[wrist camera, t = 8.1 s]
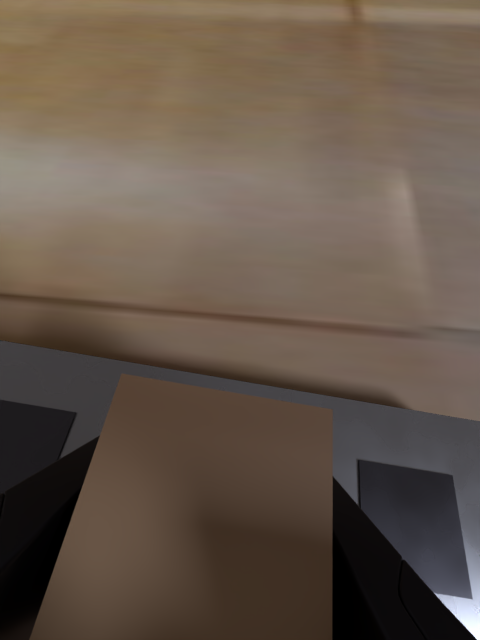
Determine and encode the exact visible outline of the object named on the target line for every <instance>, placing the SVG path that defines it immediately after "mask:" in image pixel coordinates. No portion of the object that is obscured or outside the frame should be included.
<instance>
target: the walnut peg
mask: <svg viewBox="0 0 480 640" xmlns="http://www.w3.org/2000/svg"><path fill="white" fill-rule="evenodd" d="M332 529H333V409H327V408H321V407H315V406H310V405H304V404H298V403H292V402H286V401H280V400H274V399H268V398H263V397H257V396H251V395H245V394H239V393H233V392H227V391H221V390H216V389H210V388H204V387H198V386H192V385H186V384H180V383H174V382H169V381H163V380H157V379H151V378H145V377H139V376H133V375H128V374H122V373H121V376H120V379H119V382H118V385H117V388H116V391H115V394H114V396H113V399H112V402H111V405H110V408H109V411H108V414H107V417H106V420H105V423H104V425H103V428H102V431H101V434H100V437H99V440H98V443H97V446H96V449H95V451H94V454H93V457H92V460H91V463H90V466H89V469H88V472H87V475H86V477H85V480H84V483H83V486H82V489H81V492H80V495H79V498H78V501H77V503H76V506H75V509H74V512H73V515H72V518H71V521H70V524H69V527H68V529H67V532H66V535H65V538H64V541H63V544H62V547H61V550H60V553H59V555H58V558H57V561H56V564H55V567H54V570H53V573H52V576H51V579H50V581H49V584H48V587H47V590H46V593H45V596H44V599H43V602H42V605H41V607H40V610H39V613H38V616H37V619H36V622H35V625H34V628H33V631H32V633H31V636H30V639H29V640H332Z"/></svg>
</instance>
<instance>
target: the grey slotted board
mask: <svg viewBox="0 0 480 640" xmlns="http://www.w3.org/2000/svg"><path fill="white" fill-rule="evenodd" d="M121 373H122V374H128V375H133V376H139V377H145V378H151V379H157V380H163V381H169V382H174V383H180V384H186V385H192V386H198V387H204V388H210V389H216V390H221V391H227V392H233V393H239V394H245V395H251V396H257V397H263V398H268V399H274V400H280V401H286V402H292V403H298V404H304V405H310V406H315V407H321V408H327V409H333V476H334V478H335V479H336V480H337V481H338V482H339V484H340V485H341V486H342V487H343V488H344V489H345V491H346V492H347V493H348V494H349V495H350V496H351V498H352V499H353V500H354V501H355V502H356V503H357V505H358V506H359V507H360V508H361V509H362V510H363V512H364V513H365V514H366V515H367V516H368V517H369V519H370V520H371V521H372V522H373V523H374V524H375V526H376V527H377V528H378V529H379V530H380V531H381V533H382V534H383V535H384V536H385V537H386V538H387V540H388V541H389V542H390V543H391V544H392V545H393V547H394V548H395V549H396V550H397V551H398V552H399V554H400V555H401V556H402V560H406V562H407V563H408V564H409V565H410V566H411V567H412V569H413V570H414V571H415V572H416V573H417V574H418V576H419V577H420V578H421V579H422V580H423V581H424V582H425V583H426V585H427V586H428V587H429V588H430V589H431V590H432V591H433V592H434V594H435V595H436V596H437V597H438V598H439V599H440V600H441V601H442V603H443V604H444V605H445V606H446V607H447V608H448V609H449V610H450V611H451V612H452V613H453V614H454V615H455V617H456V618H457V619H458V620H459V621H460V622H461V623H462V624H463V625H464V626H465V627H466V628H467V629H468V630H469V631H470V632H471V634H472V635H473V636H474V637H475V638H476V639H477V640H480V421H474V420H468V419H462V418H456V417H450V416H444V415H438V414H432V413H426V412H421V411H415V410H409V409H403V408H397V407H391V406H385V405H379V404H373V403H367V402H361V401H356V400H350V399H344V398H338V397H332V396H326V395H320V394H314V393H308V392H302V391H296V390H291V389H285V388H279V387H273V386H267V385H261V384H255V383H249V382H243V381H237V380H231V379H226V378H220V377H214V376H208V375H202V374H196V373H190V372H184V371H178V370H172V369H166V368H161V367H155V366H149V365H143V364H137V363H131V362H125V361H119V360H113V359H107V358H101V357H96V356H90V355H84V354H78V353H72V352H66V351H60V350H54V349H48V348H42V347H36V346H31V345H25V344H19V343H13V342H7V341H1V340H0V494H1V493H3V494H5V491H6V490H8V489H9V488H11V487H13V486H14V485H16V484H18V483H20V482H21V481H23V480H25V479H26V478H28V477H30V476H31V475H33V474H35V473H37V472H38V471H40V470H42V469H43V468H45V467H47V466H48V465H50V464H52V463H53V462H55V461H57V460H59V459H60V458H62V457H64V456H65V455H67V454H69V453H70V452H72V451H74V450H76V449H77V448H79V447H81V446H82V445H84V444H86V443H87V442H89V441H91V440H93V439H94V438H96V437H98V436H99V435H100V434H101V431H102V428H103V425H104V423H105V420H106V417H107V414H108V411H109V408H110V405H111V402H112V399H113V396H114V394H115V391H116V388H117V385H118V382H119V379H120V376H121Z"/></svg>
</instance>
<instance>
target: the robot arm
mask: <svg viewBox="0 0 480 640" xmlns="http://www.w3.org/2000/svg"><path fill="white" fill-rule="evenodd" d="M99 437H100V435H99V436H98V437H96V438H94V439H93V440H91V441H89V442H87V443H86V444H84V445H82V446H81V447H79V448H77V449H76V450H74V451H72V452H70V453H69V454H67V455H65V456H64V457H62V458H60V459H59V460H57V461H55V462H53V463H52V464H50V465H48V466H47V467H45V468H43V469H42V470H40V471H38V472H37V473H35V474H33V475H31V476H30V477H28V478H26V479H25V480H23V481H21V482H20V483H18V484H16V485H14V486H13V487H11V488H9V489H8V490H6V491H5V494H3V493H1V494H0V640H29V639H30V636H31V633H32V631H33V628H34V625H35V622H36V619H37V616H38V613H39V610H40V607H41V605H42V602H43V599H44V596H45V593H46V590H47V587H48V584H49V581H50V579H51V576H52V573H53V570H54V567H55V564H56V561H57V558H58V555H59V553H60V550H61V547H62V544H63V541H64V538H65V535H66V532H67V529H68V527H69V524H70V521H71V518H72V515H73V512H74V509H75V506H76V503H77V501H78V498H79V495H80V492H81V489H82V486H83V483H84V480H85V477H86V475H87V472H88V469H89V466H90V463H91V460H92V457H93V454H94V451H95V449H96V446H97V443H98V440H99ZM332 640H477V639H476V638H475V637H474V636H473V635H472V634H471V632H470V631H469V630H468V629H467V628H466V627H465V626H464V625H463V624H462V623H461V622H460V621H459V620H458V619H457V618H456V617H455V615H454V614H453V613H452V612H451V611H450V610H449V609H448V608H447V607H446V606H445V605H444V604H443V603H442V601H441V600H440V599H439V598H438V597H437V596H436V595H435V594H434V592H433V591H432V590H431V589H430V588H429V587H428V586H427V585H426V583H425V582H424V581H423V580H422V579H421V578H420V577H419V576H418V574H417V573H416V572H415V571H414V570H413V569H412V567H411V566H410V565H409V564H408V563H407V562H406V560H402V556H401V555H400V554H399V552H398V551H397V550H396V549H395V548H394V547H393V545H392V544H391V543H390V542H389V541H388V540H387V538H386V537H385V536H384V535H383V534H382V533H381V531H380V530H379V529H378V528H377V527H376V526H375V524H374V523H373V522H372V521H371V520H370V519H369V517H368V516H367V515H366V514H365V513H364V512H363V510H362V509H361V508H360V507H359V506H358V505H357V503H356V502H355V501H354V500H353V499H352V498H351V496H350V495H349V494H348V493H347V492H346V491H345V489H344V488H343V487H342V486H341V485H340V484H339V482H338V481H337V480H336V479H335V478H334V476H333V529H332Z"/></svg>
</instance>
